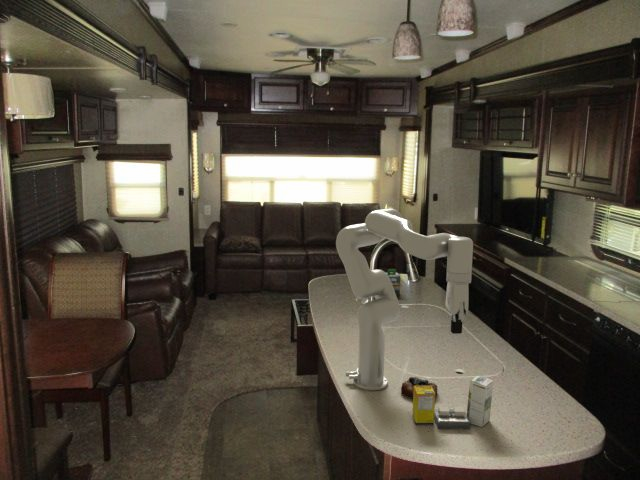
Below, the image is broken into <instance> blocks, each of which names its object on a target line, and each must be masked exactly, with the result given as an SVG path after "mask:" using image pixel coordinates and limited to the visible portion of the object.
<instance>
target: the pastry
mask: <svg viewBox="0 0 640 480" xmlns="http://www.w3.org/2000/svg"><path fill="white" fill-rule="evenodd" d="M414 386H432V388H433V390H434V392H435V397H436V396H437V395H438V385H437V384H435V382H431V381H429V380H428V379H425V380H424V379H421V378H419V377H416V376H415V377H413V376H412V377H411V376H410V377H409V378H408V380H405V381H404V382H402V384H401V388H400V389H401V390H400V395H402V396H403V397H407V398H409V399H411V400H413V392H414Z"/></svg>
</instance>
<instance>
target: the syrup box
mask: <svg viewBox="0 0 640 480" xmlns="http://www.w3.org/2000/svg"><path fill="white" fill-rule="evenodd" d="M493 389H494V380H492V379H490V378H488V377H485V376H481V375H477V376H475V377H473V379H472V380H470V381H469V387H468V395H467V396H468V399H467V406H466V407H467V409H466V415H467V417H468V419H469V421H470V425H471V424H472V425H475V426H477V427H480V428H483V427H485V425H487V423H489V421H490V418H491V410H492V398H493V392H494V391H493Z"/></svg>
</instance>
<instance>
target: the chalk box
mask: <svg viewBox="0 0 640 480" xmlns="http://www.w3.org/2000/svg"><path fill="white" fill-rule="evenodd" d="M385 273H386V274H387V275H388V276H389V278H390V280H391V282H392V285H393V288H394V291H395V294H396V297H398V296H401V275H400V274H399V273H398V272H397V269H395V268H390V269H387V272H385Z"/></svg>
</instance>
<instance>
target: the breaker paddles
mask: <svg viewBox="0 0 640 480" xmlns="http://www.w3.org/2000/svg"><path fill="white" fill-rule="evenodd" d="M437 409H438V413H439V415H449V413H454V414H455V416H464V414H465V413H466V411H465V407H464V406H454V407H453V410H454V411H449V410H450V408H449V406H438V408H437Z"/></svg>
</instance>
